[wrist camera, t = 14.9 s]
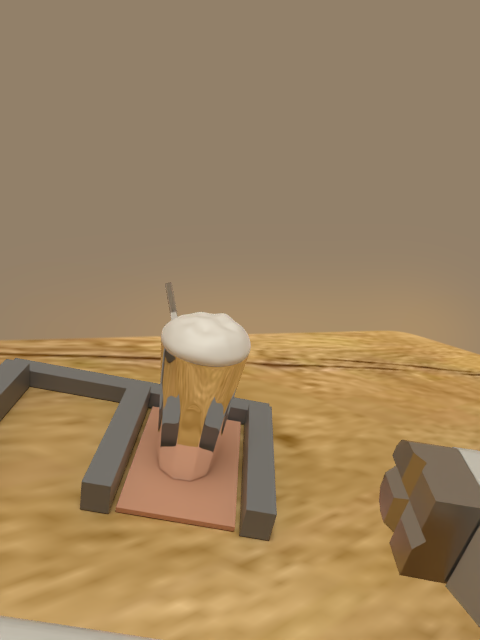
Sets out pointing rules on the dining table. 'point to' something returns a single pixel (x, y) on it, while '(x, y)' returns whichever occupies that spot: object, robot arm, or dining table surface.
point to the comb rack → (145, 475)
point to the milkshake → (196, 388)
